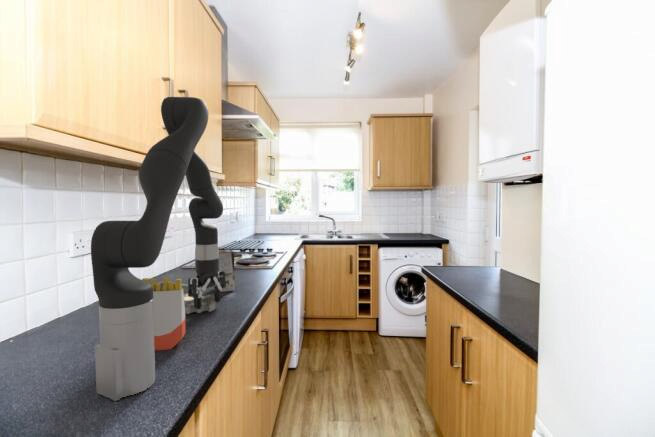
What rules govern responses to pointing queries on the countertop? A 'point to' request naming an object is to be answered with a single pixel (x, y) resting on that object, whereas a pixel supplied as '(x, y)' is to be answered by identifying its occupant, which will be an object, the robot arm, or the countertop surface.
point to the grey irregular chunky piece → (206, 304)
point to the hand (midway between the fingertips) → (208, 304)
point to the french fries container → (168, 313)
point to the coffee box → (227, 268)
